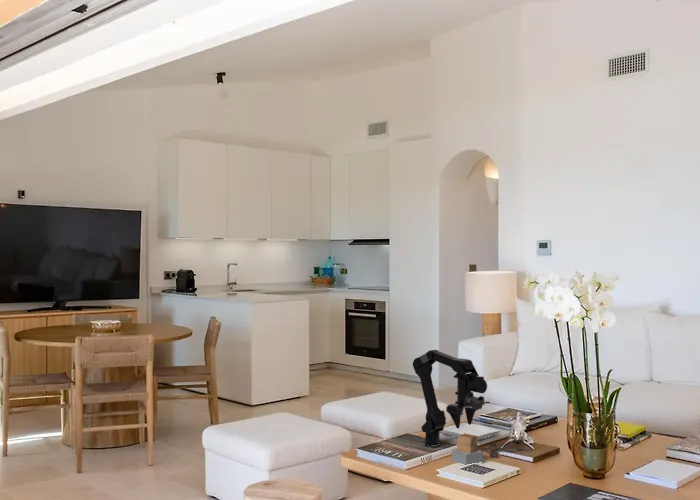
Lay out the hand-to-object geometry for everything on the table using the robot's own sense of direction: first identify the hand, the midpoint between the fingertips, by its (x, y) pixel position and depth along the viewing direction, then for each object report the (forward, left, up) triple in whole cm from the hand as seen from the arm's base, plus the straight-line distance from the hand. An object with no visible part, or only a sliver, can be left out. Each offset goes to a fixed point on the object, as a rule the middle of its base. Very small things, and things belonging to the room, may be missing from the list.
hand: (463, 426), depth 301 cm
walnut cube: (+8, +7, -7) cm, 13 cm away
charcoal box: (+8, +7, -12) cm, 16 cm away
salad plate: (-29, -15, -13) cm, 35 cm away
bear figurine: (-11, +8, -13) cm, 19 cm away
